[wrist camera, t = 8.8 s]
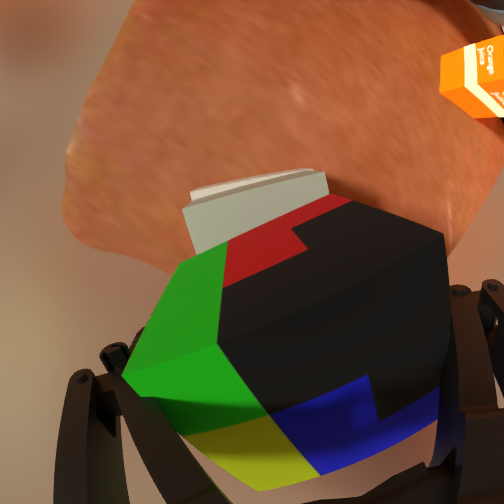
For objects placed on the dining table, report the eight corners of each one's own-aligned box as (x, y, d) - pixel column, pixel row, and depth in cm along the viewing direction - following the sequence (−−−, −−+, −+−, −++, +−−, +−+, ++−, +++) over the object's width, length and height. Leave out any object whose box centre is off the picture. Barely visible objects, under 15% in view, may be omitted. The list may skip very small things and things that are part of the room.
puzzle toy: (371, 321, 18) (442, 416, 9) (249, 374, 19) (258, 491, 10) (330, 193, 16) (443, 233, 6) (179, 263, 16) (121, 375, 7)
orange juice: (473, 119, 28) (567, 119, 9) (439, 92, 27) (541, 75, 8) (475, 82, 26) (560, 71, 7) (440, 54, 25) (529, 26, 6)
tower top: (305, 170, 25) (324, 171, 19) (326, 273, 28) (346, 298, 23) (194, 199, 25) (181, 209, 20) (226, 300, 29) (224, 331, 23)
